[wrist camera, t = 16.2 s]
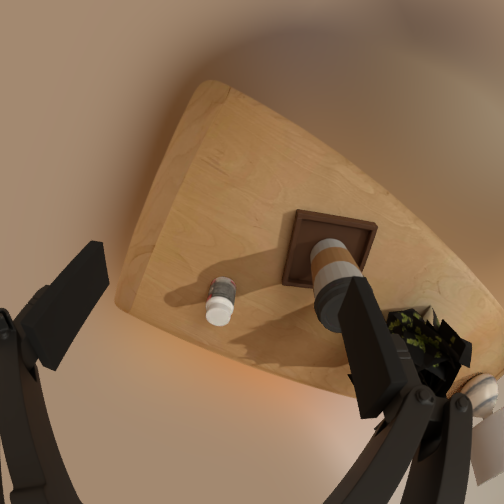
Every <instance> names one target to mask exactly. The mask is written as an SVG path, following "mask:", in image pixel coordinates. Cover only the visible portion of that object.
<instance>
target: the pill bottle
mask: <svg viewBox="0 0 504 504" xmlns="http://www.w3.org/2000/svg"><path fill="white" fill-rule="evenodd" d="M235 294H236V285H235V283H234V281H233V280H231V279H230V278H227V277H218V278H215V279H214V280H213V281H212V283H211V286H210V290H209V294H208V298H207V301H206V310H207V311H206V319H207V320H208V322H209V323H211V324H213V325H215V326H224V325H226V324H227V323H228V322H229V321H230V317H231V314H232V313H233V309H234V301H235Z"/></svg>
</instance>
